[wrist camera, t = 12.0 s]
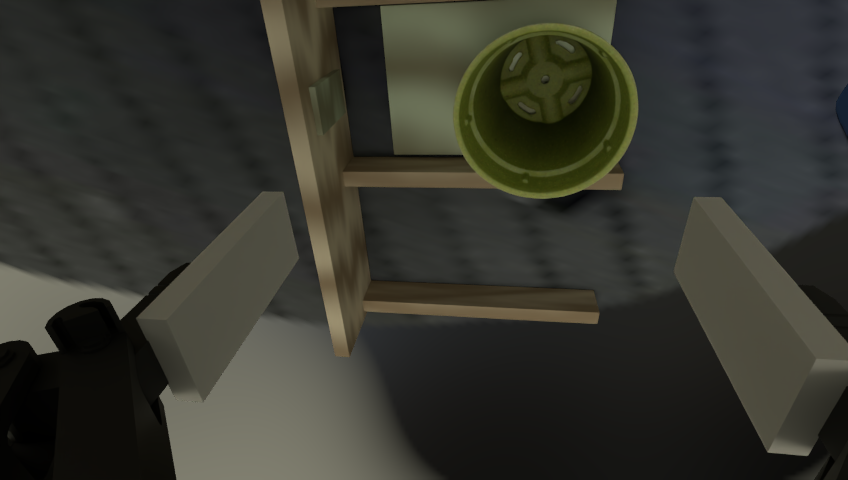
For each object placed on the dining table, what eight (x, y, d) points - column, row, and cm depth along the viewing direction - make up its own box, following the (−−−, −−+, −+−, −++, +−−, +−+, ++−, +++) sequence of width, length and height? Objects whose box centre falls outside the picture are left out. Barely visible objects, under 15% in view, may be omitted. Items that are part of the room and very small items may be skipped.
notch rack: (310, -27, 31) (255, -20, 24) (649, -48, 28) (694, -47, 21) (361, 295, 45) (335, 356, 38) (590, 306, 42) (607, 375, 35)
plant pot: (567, 166, 35) (570, 226, 28) (453, 108, 34) (426, 153, 27) (651, 45, 29) (681, 79, 22) (517, -26, 29) (504, -14, 22)
